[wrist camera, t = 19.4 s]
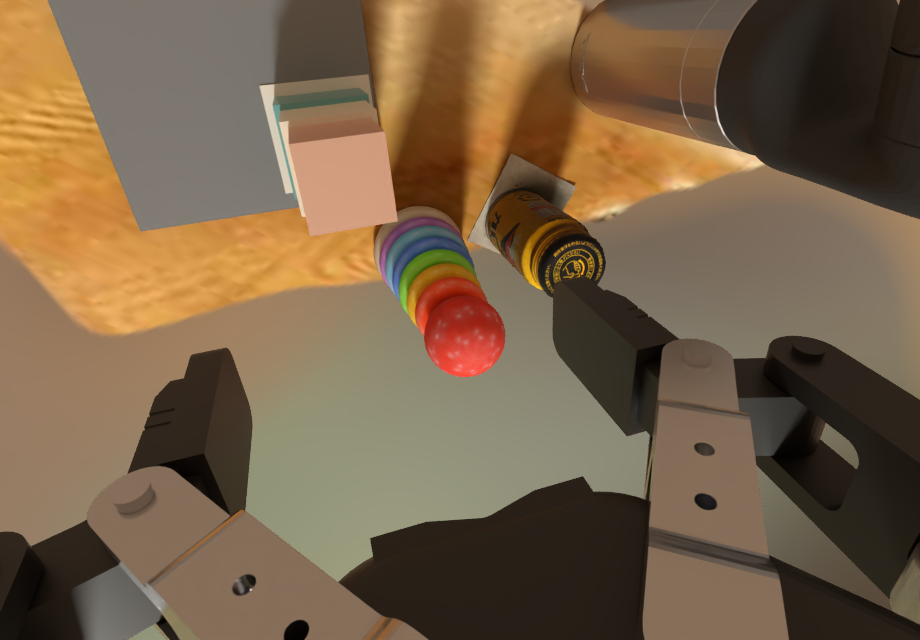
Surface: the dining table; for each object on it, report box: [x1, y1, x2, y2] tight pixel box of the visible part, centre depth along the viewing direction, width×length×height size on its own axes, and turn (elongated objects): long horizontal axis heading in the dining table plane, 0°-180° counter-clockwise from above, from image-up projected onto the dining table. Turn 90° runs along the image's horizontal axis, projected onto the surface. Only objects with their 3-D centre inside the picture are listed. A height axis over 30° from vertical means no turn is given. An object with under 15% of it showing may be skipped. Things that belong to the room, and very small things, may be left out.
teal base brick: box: [272, 88, 370, 200], centre depth 37 cm, size 6×6×5 cm
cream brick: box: [279, 100, 379, 217], centre depth 32 cm, size 5×5×5 cm
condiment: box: [468, 153, 606, 297], centre depth 43 cm, size 7×8×12 cm
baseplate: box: [48, 0, 376, 231], centre depth 37 cm, size 18×15×1 cm
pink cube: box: [288, 117, 398, 236], centre depth 28 cm, size 5×5×5 cm
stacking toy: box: [374, 206, 505, 377], centre depth 38 cm, size 8×8×19 cm
